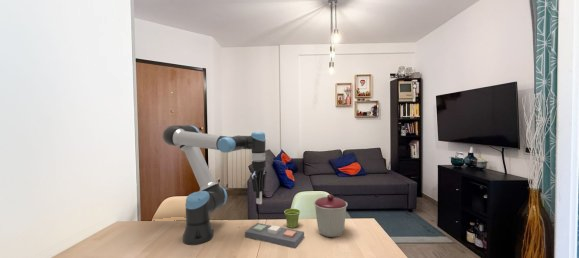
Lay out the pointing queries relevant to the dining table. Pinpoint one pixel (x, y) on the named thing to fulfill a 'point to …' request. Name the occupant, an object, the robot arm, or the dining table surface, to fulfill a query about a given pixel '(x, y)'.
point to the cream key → (274, 229)
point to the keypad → (275, 236)
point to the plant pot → (292, 217)
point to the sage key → (259, 228)
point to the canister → (330, 215)
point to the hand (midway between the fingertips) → (259, 203)
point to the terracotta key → (289, 233)
